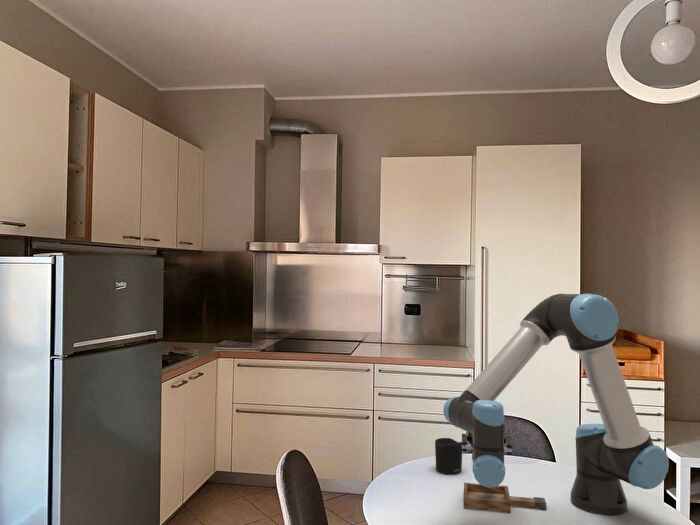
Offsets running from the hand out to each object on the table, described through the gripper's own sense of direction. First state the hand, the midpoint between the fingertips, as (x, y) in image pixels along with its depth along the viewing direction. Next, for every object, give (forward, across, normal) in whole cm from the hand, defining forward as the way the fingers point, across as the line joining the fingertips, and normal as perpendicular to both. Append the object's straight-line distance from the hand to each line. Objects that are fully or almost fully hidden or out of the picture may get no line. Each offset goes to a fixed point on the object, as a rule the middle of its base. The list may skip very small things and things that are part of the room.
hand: (485, 433), depth 165 cm
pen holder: (+21, -12, -19) cm, 31 cm away
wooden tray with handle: (-5, +5, -19) cm, 20 cm away
